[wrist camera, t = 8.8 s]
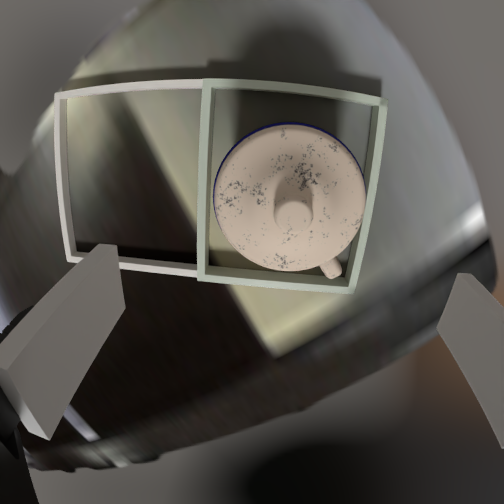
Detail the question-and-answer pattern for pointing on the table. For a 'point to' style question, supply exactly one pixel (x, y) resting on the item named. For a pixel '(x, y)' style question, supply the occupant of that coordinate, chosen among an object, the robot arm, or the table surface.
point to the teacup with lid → (290, 197)
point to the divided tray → (204, 180)
